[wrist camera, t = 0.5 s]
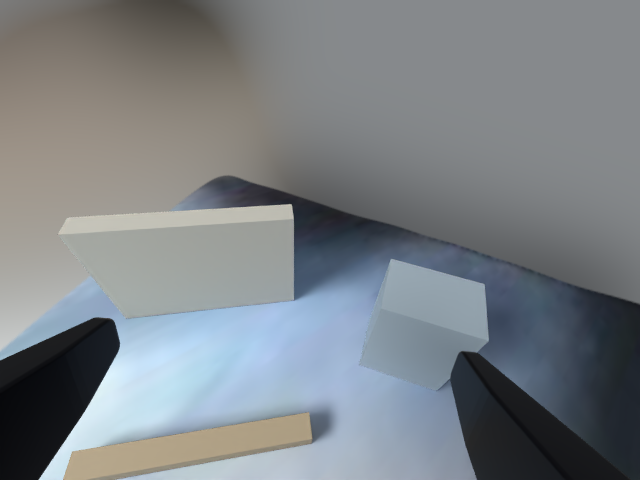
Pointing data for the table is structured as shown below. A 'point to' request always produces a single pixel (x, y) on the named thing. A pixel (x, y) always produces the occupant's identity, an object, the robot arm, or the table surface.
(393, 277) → the pale grey square box
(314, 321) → the table surface
